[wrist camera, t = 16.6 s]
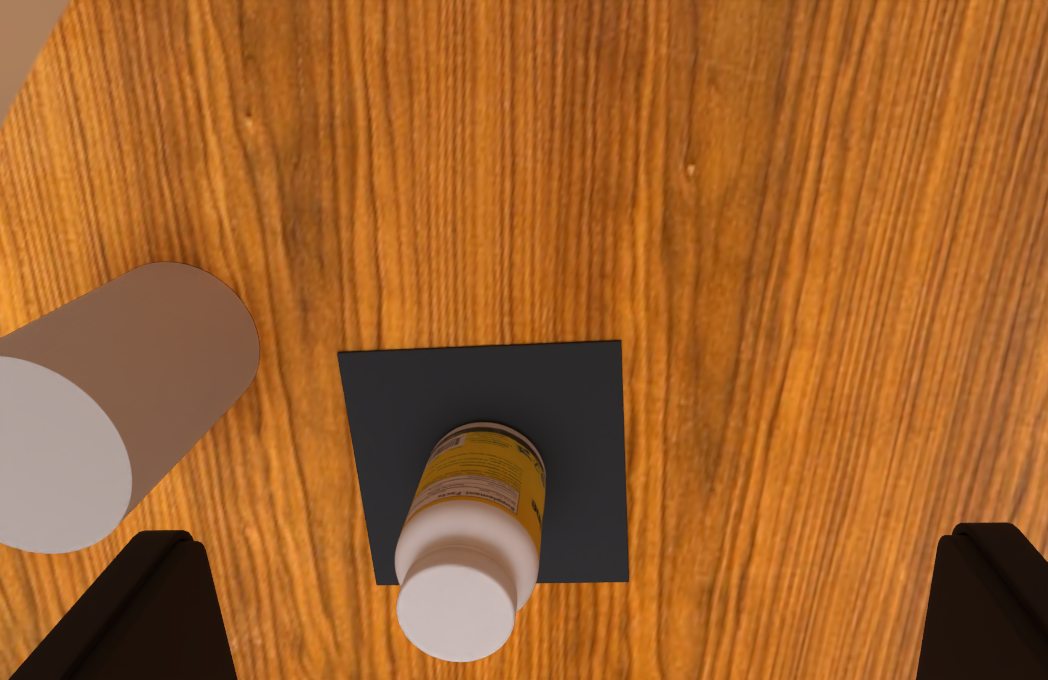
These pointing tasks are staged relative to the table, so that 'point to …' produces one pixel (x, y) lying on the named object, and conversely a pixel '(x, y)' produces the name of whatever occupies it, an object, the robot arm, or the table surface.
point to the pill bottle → (471, 542)
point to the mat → (510, 400)
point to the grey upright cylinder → (114, 399)
